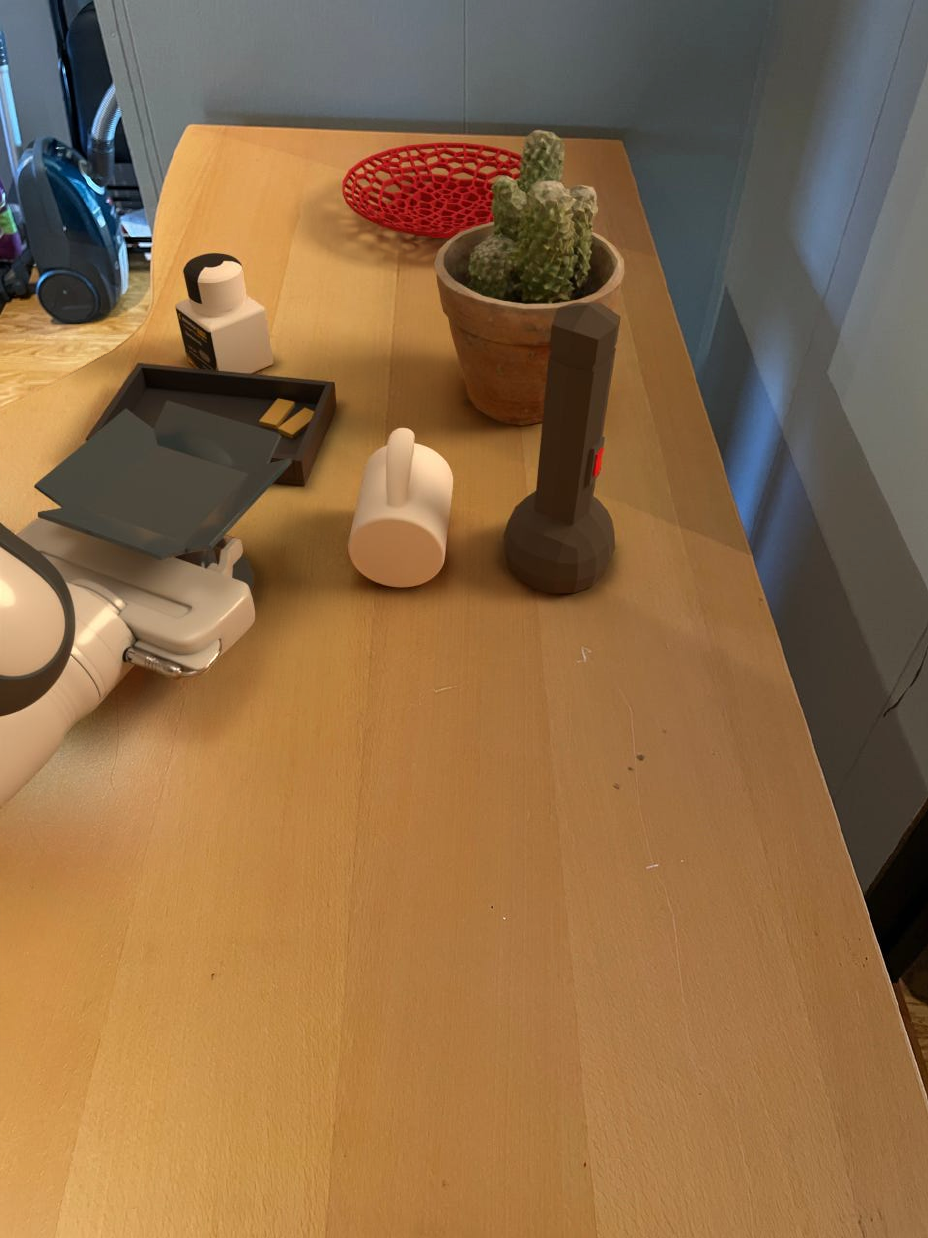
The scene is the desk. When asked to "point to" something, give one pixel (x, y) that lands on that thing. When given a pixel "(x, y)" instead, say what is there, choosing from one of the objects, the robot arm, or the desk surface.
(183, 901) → the desk surface
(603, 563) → the flashlight
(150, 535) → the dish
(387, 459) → the mug
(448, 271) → the potted plant
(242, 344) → the medicine bottle
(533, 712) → the desk surface
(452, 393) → the desk surface
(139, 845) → the desk surface
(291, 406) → the orange rectangular block
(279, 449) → the tray
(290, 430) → the key
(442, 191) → the bowl
